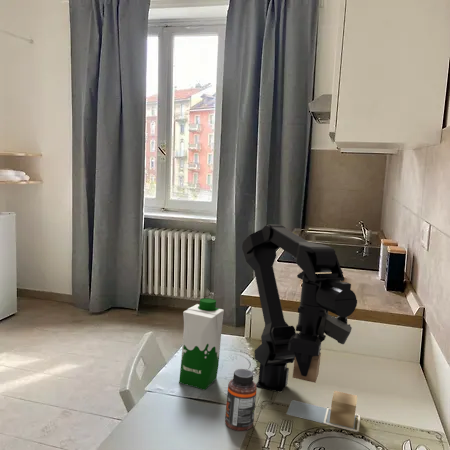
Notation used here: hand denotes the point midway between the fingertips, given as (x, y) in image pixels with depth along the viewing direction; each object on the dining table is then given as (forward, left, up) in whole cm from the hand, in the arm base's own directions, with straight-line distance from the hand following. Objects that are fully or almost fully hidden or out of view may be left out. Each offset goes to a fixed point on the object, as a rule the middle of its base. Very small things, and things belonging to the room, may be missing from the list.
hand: (306, 371), depth 102 cm
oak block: (+9, 0, -9) cm, 13 cm away
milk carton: (-26, +2, -10) cm, 28 cm away
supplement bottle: (-11, -12, -10) cm, 19 cm away
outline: (+9, 0, -9) cm, 13 cm away
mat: (+4, 0, -9) cm, 10 cm away
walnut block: (0, 0, -1) cm, 1 cm away
